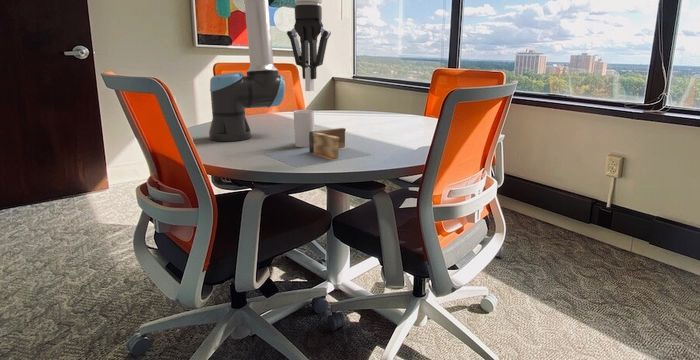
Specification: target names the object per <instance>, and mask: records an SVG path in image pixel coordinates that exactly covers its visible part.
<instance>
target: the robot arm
mask: <svg viewBox="0 0 700 360" xmlns="http://www.w3.org/2000/svg"><path fill="white" fill-rule="evenodd" d="M243 1H244V10H245V11H244V12H245V23H246V32H247V34H246V35H247V45H248V55H249V56H248V57H249V68H248V69H247V70H246V75H244V74H243V72H241V71H238V72H228V73H222V74H217V75H213V76H212V77H211V78H210V80H209V91H210V100H211V101H210V102H211V103H210V104H211V111H212V112H211V113H212V119H211V123H210V126H209V130H208V139H209V140H211V141H216V142H237V141H244V140H248V139H251V138H252V130H251V128H250V125H249V123H248V120H247V118H246V109H258V108H261V109H262V108H271V107H279V106H280V105H281V104H282V103H283V101H284V100H283V99H284V97H285V93H286V84H285V83H286V81H285V78H284V76H283V75H281V74H279V69H278V68H277V67H276V66H275V64H274V58H273V57H274V54H273V42H272V40H273V39H272V32H271V31H272V30H271V28H272V27H271V20H270V19H271V18H270V17H271V16H270V5H269V0H243ZM322 2H323V0H294V4H296V5H295V6H294V20H295V22H294V25H293V28H292V29H291V30H288V31H286V35H287V37H288V38H289V41H290V44H291V49H292V53H293V57H294V61H295V65H296V66H299V67H301V71H302V79H303V80H304V81H305V82H304V84H305V85H304V87H305V92H313V91H315V80H316V79H317V68H318V67H321V66H322V65H323V63H324V60H325V59H324V58H325V54H326V49H327V43H328V40H329V38H330V36H331V34H332V33H331V31H330V30H327V29H326V28H324V24H323V21H322V17H323V14H322V13H323V12H322V10H323V9H322V6H321V5H320V4H322ZM297 36H299V39H298V37H297ZM319 36H320V39H319V43H318V38H319ZM299 42H300V43H299ZM317 43H318V45H317Z"/></svg>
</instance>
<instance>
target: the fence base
mask: <svg viewBox="0 0 700 360" xmlns="http://www.w3.org/2000/svg"><path fill="white" fill-rule="evenodd" d="M315 132H318V133H323V134H327V135H332V136H336V137H339V140H338V148H344V147H346V128H345V127H338V128H330V129H320V130H314V131H311V132H309V152H311V153H314V140H313V133H315Z"/></svg>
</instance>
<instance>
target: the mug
mask: <svg viewBox="0 0 700 360" xmlns="http://www.w3.org/2000/svg"><path fill="white" fill-rule="evenodd" d="M293 126H294V143H295V147H297V148H306V147H309V132H311V131H314V132H315V110H311V109H298V110H294V111H293Z"/></svg>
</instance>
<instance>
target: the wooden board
mask: <svg viewBox="0 0 700 360" xmlns="http://www.w3.org/2000/svg"><path fill="white" fill-rule="evenodd" d="M314 132H315V131H314ZM313 140H314V152H316V153H319V154H323V155H326V156H330V157H333V158H338V157H339V156H338V140H339V137H336V136H332V135H327V134H323V133H318V132H315V133H313Z"/></svg>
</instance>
